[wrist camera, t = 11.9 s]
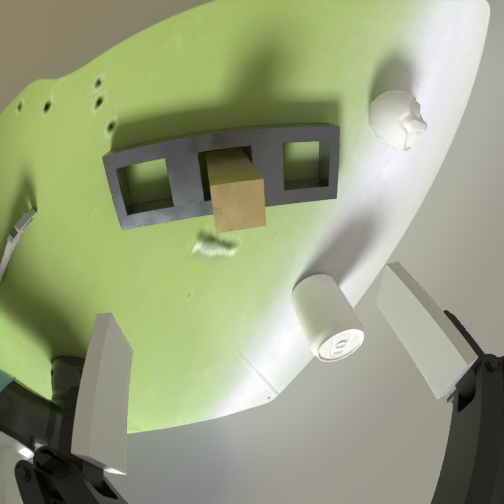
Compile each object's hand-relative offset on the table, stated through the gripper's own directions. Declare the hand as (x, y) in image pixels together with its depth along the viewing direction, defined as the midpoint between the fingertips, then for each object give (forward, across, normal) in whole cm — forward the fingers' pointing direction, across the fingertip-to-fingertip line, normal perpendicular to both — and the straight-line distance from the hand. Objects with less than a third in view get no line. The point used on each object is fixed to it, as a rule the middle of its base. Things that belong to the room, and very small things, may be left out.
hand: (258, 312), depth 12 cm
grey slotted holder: (+23, -1, 0) cm, 23 cm away
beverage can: (+23, -13, +22) cm, 34 cm away
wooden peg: (+23, -1, 0) cm, 23 cm away
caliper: (+23, +34, +5) cm, 42 cm away
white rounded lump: (+23, -22, -6) cm, 32 cm away
